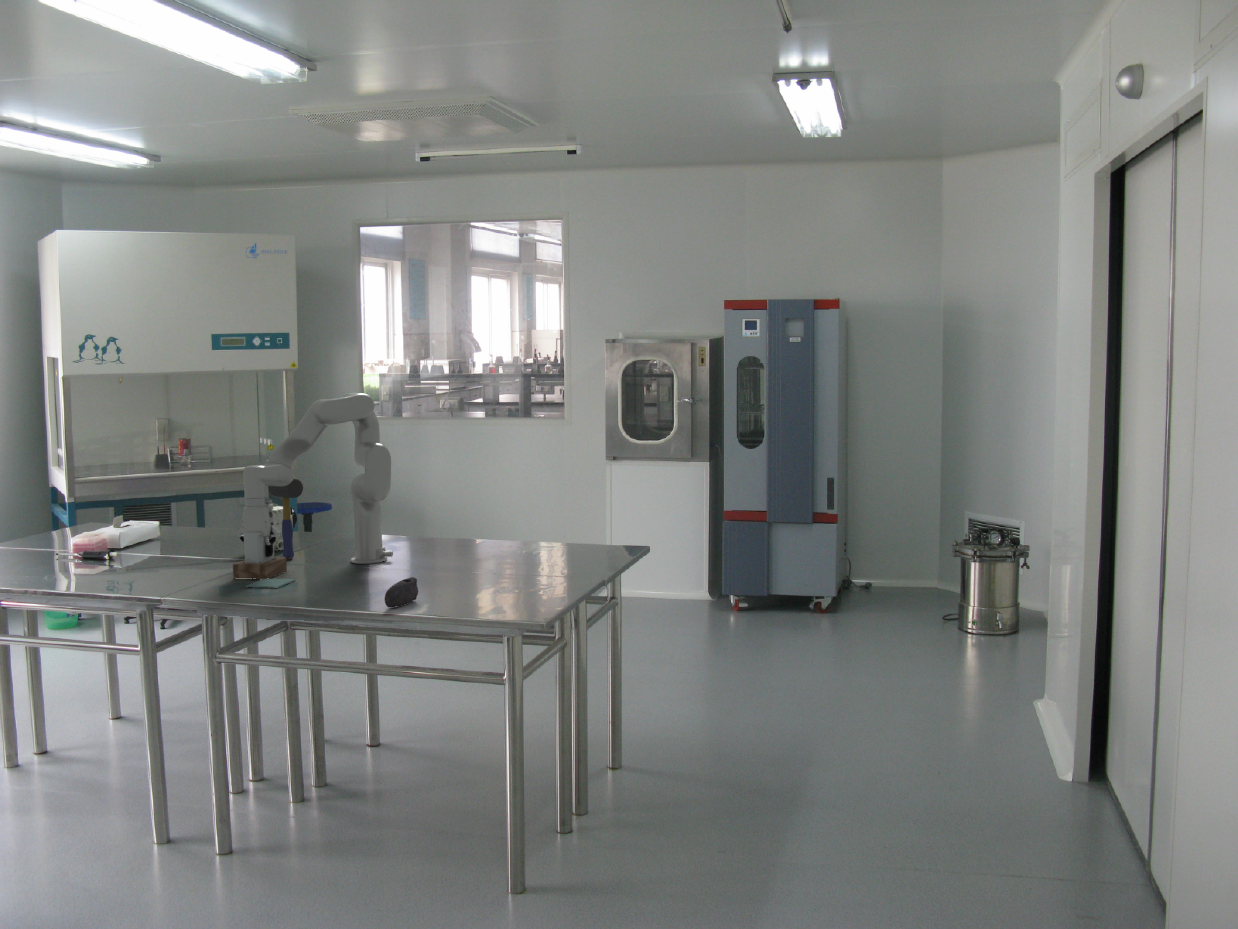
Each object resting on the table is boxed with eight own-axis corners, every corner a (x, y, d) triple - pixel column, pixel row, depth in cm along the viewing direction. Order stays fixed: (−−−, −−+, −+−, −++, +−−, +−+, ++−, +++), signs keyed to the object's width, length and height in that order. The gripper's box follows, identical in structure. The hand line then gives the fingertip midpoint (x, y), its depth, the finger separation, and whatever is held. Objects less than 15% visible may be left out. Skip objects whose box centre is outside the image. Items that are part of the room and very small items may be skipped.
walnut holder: (286, 571, 337) (286, 557, 336) (265, 580, 324) (265, 564, 323) (255, 571, 339) (254, 556, 338) (233, 579, 326) (232, 564, 325)
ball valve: (261, 555, 369) (259, 507, 367) (247, 553, 374) (244, 506, 372) (301, 547, 384) (299, 502, 382) (286, 545, 389) (284, 500, 387)
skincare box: (259, 578, 326) (257, 533, 325) (244, 577, 328) (242, 532, 327) (276, 573, 334) (274, 529, 333) (261, 572, 336) (259, 529, 335)
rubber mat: (295, 581, 321) (295, 579, 321) (278, 588, 310) (277, 586, 310) (264, 580, 323) (263, 578, 323) (245, 587, 312) (245, 585, 312)
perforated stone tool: (393, 612, 278) (392, 587, 277) (377, 610, 280) (376, 586, 279) (423, 600, 292) (423, 577, 291) (408, 599, 294) (408, 575, 293)
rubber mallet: (308, 559, 359) (304, 476, 356) (290, 562, 353) (286, 478, 350) (286, 556, 366) (283, 475, 363) (269, 559, 360) (265, 477, 357)
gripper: (286, 501, 331) (289, 554, 333) (239, 501, 334) (241, 553, 336) (275, 504, 324) (277, 558, 325) (226, 503, 327) (229, 557, 328)
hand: (259, 555), depth 331 cm, fingers closed on skincare box, 6 cm apart
